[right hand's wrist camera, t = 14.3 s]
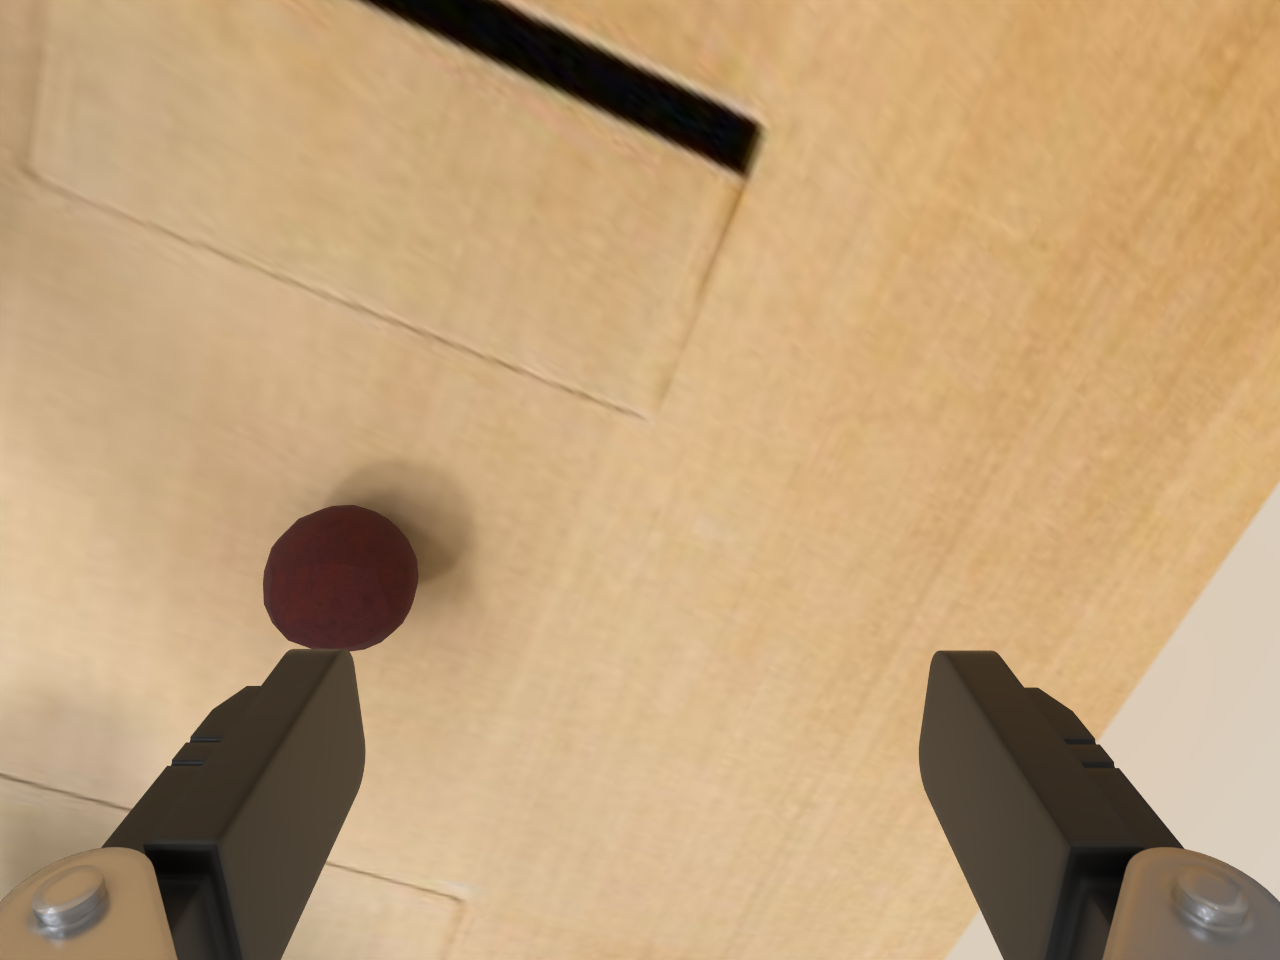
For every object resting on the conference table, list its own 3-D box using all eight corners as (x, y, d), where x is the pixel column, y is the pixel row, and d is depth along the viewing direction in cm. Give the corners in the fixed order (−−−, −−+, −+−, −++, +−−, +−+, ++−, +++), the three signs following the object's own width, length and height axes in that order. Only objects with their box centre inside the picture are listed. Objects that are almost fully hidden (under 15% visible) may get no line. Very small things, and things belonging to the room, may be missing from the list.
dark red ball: (444, 600, 47) (411, 670, 40) (310, 614, 47) (256, 686, 40) (416, 480, 44) (377, 533, 37) (275, 495, 44) (211, 551, 38)
